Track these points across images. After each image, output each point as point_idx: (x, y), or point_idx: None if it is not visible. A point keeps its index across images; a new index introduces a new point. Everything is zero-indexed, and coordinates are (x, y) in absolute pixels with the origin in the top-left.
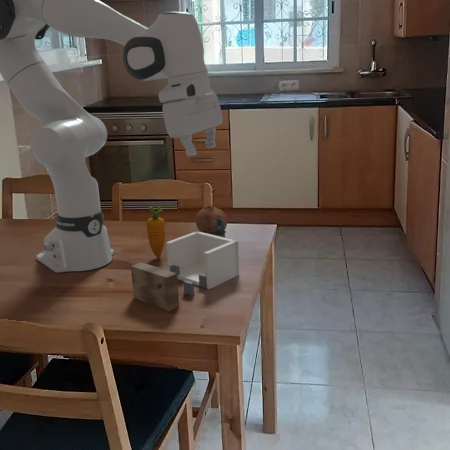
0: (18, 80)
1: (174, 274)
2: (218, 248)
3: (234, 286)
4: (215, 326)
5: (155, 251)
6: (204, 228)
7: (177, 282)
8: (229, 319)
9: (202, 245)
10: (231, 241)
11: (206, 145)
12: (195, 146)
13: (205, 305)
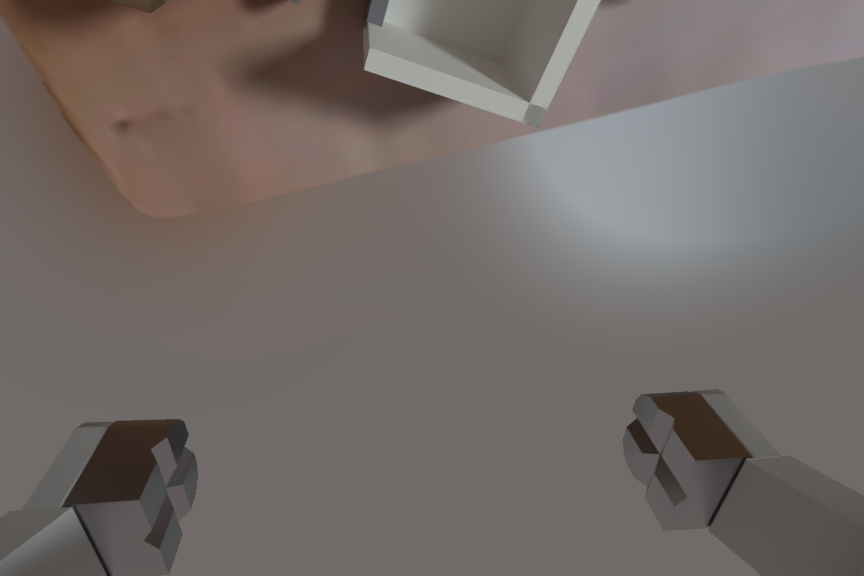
0: None
1: (133, 7)
2: (436, 87)
3: (412, 102)
4: (147, 159)
5: None
6: None
7: (161, 4)
8: (205, 175)
9: None
10: (528, 105)
11: (664, 417)
12: (165, 574)
13: (245, 74)
